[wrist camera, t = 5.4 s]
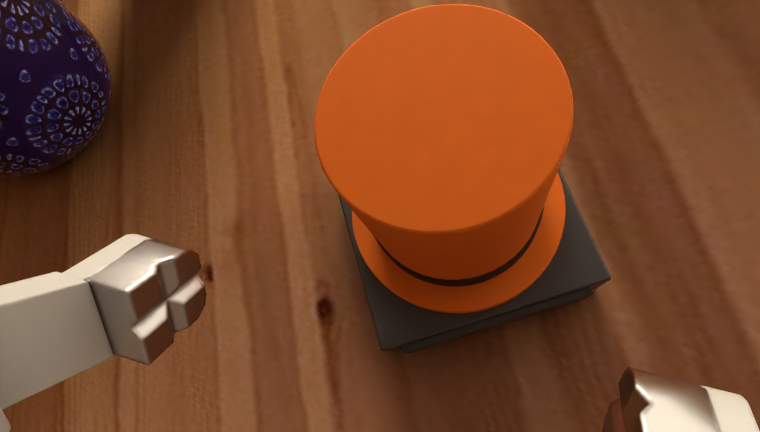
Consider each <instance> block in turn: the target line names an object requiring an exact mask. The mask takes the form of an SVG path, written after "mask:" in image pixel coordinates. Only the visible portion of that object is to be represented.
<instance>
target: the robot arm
mask: <svg viewBox="0 0 760 432" xmlns="http://www.w3.org/2000/svg"><path fill="white" fill-rule="evenodd" d="M200 269H201V264H200V260H199V255H198V254H197V253H196V252H194V251H192V250H190V249H187V248H183V247H180V246H177V245H173V244H170V243H167V242H163V241H160V240H157V239H151V238H148V237H145V236H141V235H138V234H128V235H125V236H123V237H121V238H120V239H118V240H116V241H115V242H113V243H111V244H110V245H108V246H106V247H105V248H103V249H101V250H100V251H98V252H96V253H95V254H93V255H91V256H90V257H88V258H86V259H85V260H83V261H81V262H80V263H78V264H76V265H75V266H73V267H71V268H70V269H68V270H66V271H65V272H63V273H59V272H52V273H48V274H44V275H40V276H36V277H32V278H28V279H24V280H20V281H16V282H12V283H8V284H5V285H1V286H0V432H10V428H11V425H10V423H9V422H8V420H7V418H6V416H5V414H4V413H3V411H2V410H3V409H5V408H7V407H9V406H11V405H14V404H16V403H18V402H20V401H22V400H24V399H26V398H28V397H30V396H32V395H34V394H37V393H39V392H41V391H43V390H45V389H47V388H49V387H51V386H53V385H55V384H57V383H59V382H62V381H64V380H66V379H68V378H70V377H72V376H74V375H76V374H78V373H80V372H82V371H85V370H87V369H89V368H91V367H93V366H95V365H97V364H99V363H101V362H103V361H105V360H107V359H110V358H112V357H113V356H114V355H113V354H115V355H118V356H121V357H124V358H127V359H130V360H133V361H136V362H139V363H142V364H145V365H148V366H149V365H150V364H151V363H152V362H153V361H154V360H155V359H156V358H157V357H158V356H160V355H161V354H162V353H163V352H164V351H165V350H166V349H167V348H168V347H169V346H170V345H171V344H172V343H173V342H174V336H175V333H176V332H179V331H181V330H184V329H186V328H189V327H190V326H191V325H192V324H193V323H194V322H195V321H196V320H197V319H198V318H199V316H200V314H201V312H202V310H203V308H204V306H205V301H206V289H205V285H204V283H203V282H202V280H201V279H200V278H199V276H198V275H197V274H198V272H199V270H200ZM619 394H620V399H618V400H615V401H613V402H611V403H610V405H609V407H608V410H607V413H606V415H605V419H604V424H603V429H602V432H760V430H759V428H758V426H757V423H756V421H755V418H754V416H753V414H752V411H751V409H750V406H749V404H748V402H747V401H746V400H745V399H744V398H743V397H742V396H741V395H738V394H734V393H730V392H726V391H722V390H718V389H714V388H710V387H706V386H699V385H696V384H692V383H688V382H685V381H681V380H677V379H673V378H669V377H665V376H662V375H658V374H654V373H650V372H646V371H642V370H639V369H635V368H631V367H628V368H627V369H626V370H625V371H624V373H623V375H622V377H621V379H620V381H619Z"/></svg>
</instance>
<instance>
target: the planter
mask: <svg viewBox="0 0 760 432" xmlns="http://www.w3.org/2000/svg"><path fill="white" fill-rule="evenodd" d="M111 93H112V86H111V75H110V70H109V67H108V63H107V60H106V57H105V55H104V53H103V51H102V48H101V46H100V44H99V42H98V41H97V39H96V38H95V37H94V35H93V34H92V33H91V31H90V30H89V29H88V27H87V26H86V25H85V24H84V23H83V22H82V21H81V20H80V19H79V18H78V17H77V16H76V15H75V14H74V13H73V12H72V11H71V9H70V8H69V7H68V6H67V5H65V4H64V3H63V2H62V1H61V0H0V177H11V176H23V175H29V174H35V173H39V172H42V171H45V170H48V169H51V168H54V167H56V166H59V165H61V164H63V163H64V162H66V161H68V160H69V159H71V158H72V157H74V156H75V155H76V154H78V153H79V152H80V151H81V150H82V149H83V148H85V147H86V146H87V145H88V144H89V142H90V141H91V140H92V139H93V138H94V136H95V135H96V134H97V132H98V131H99V129H100V127H101V126H102V124H103V122H104V120H105V117H106V115H107V112H108V109H109V105H110V101H111Z"/></svg>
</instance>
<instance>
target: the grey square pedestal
mask: <svg viewBox="0 0 760 432" xmlns="http://www.w3.org/2000/svg"><path fill="white" fill-rule="evenodd" d="M557 172H558V175H559V177H560V180H561V182H562V187H563V191H564V195H565V207H566V212H565V224H564V229H563V233H562V238H561V240H560V243H559V246H558V248H557V251H556V252H555V254H554V256H553V258H552V260H551V262H550V263H549V265H548V266H547V267H546V269H545V270H544V271H543V273H542V274H541V275H540V277H539V278H538V279H537V280H536V281H535V282H534V283H533V284H532V285H531V286H530V287H529V288H527V289H526V290H525V291H523V292H522V293H521V294H519V295H518V296H516V297H515V298H513V299H511V300H509V301H507V302H506V303H503V304H501V305H498V306H496V307H493V308H490V309H486V310H482V311H478V312H471V313H443V312H437V311H432V310H428V309H425V308H422V307H419V306H416V305H414V304H412V303H410V302H407V301H406V300H404V299H402V298H401V297H399V296H398V295H396V294H394V293H393V292H392V291H391V290H390V289H388V288H387V287H386V286H385V285H383V284H382V283H381V282H380V281H379V280H378V278H377V277H376V276H375V275H374V274H373V273H372V271H371V270H370V269H369V267H368V266H367V264H366V263H365V261H364V259H363V257H362V255H361V253H360V251H359V249H358V246H357V243H356V240H355V236H354V231H353V225H352V209H351V208H350V207H349V206H348V205H347V204H346V202H345V201H344V200H343V199H342V198H341V197H340V195H339V194H338V195H339V198H340V202H341V206H342V209H343V213H344V216H345V220H346V224H347V227H348V231H349V235H350V238H351V242H352V246H353V249H354V253H355V256H356V260H357V264H358V267H359V271H360V275H361V278H362V282H363V286H364V289H365V293H366V296H367V300H368V304H369V307H370V311H371V315H372V318H373V322H374V326H375V329H376V333H377V336H378V340H379V344H380V347H381V350H382V351H388V352H397V351H400V350H402V353H412V352H415V351H418V350H422V349H425V348H428V347H431V346H434V345H438V344H441V343H444V342H447V341H450V340H454V339H457V338H460V337H463V336H466V335H470V334H473V333H476V332H479V331H482V330H486V329H489V328H492V327H495V326H498V325H502V324H505V323H508V322H511V321H514V320H518V319H521V318H524V317H527V316H530V315H534V314H537V313H540V312H543V311H546V310H550V309H553V308H556V307H559V306H562V305H566V304H569V303H572V302H575V301H578V300H582V299H584V298H586V297H588V296H589V295H591V294H593V291H592V290H595V289H596V288H598V287H599V286H601V285H602V284H604V283H606V282H607V281H609V280H610V279H611V277H610V274H609V272H608V270H607V268H606V266H605V264H604V262H603V260H602V258H601V255H600V253H599V251H598V249H597V247H596V245H595V243H594V241H593V239H592V236H591V234H590V232H589V230H588V228H587V226H586V224H585V222H584V220H583V218H582V215H581V213H580V211H579V209H578V207H577V205H576V203H575V201H574V199H573V196H572V194H571V192H570V190H569V188H568V186H567V184H566V182H565V180H564V177H563V175H562V173H561V171H560V169H558V171H557Z"/></svg>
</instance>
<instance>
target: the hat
mask: <svg viewBox="0 0 760 432" xmlns="http://www.w3.org/2000/svg"><path fill="white" fill-rule="evenodd" d="M573 115H574V106H573V95H572V90H571V86H570V82H569V79H568V76H567V74H566V72H565V69H564V67H563V65H562V63H561V61H560V60H559V58H558V56H557V55H556V53H555V52H554V50H553V49H552V48H551V47H550V46H549V44H548V43H547V42H546V41H545V40H544V39H543V38H542V37H541V36H540V35H539V34H538V33H537V32H535V31H534V30H533V29H532V28H530V27H529V26H527V25H526V24H524V23H523V22H521V21H520V20H518V19H516V18H514V17H511V16H509V15H507V14H505V13H502V12H499V11H496V10H493V9H490V8H486V7H481V6H476V5H466V4H441V5H433V6H427V7H422V8H418V9H413V10H411V11H408V12H405V13H402V14H399V15H397V16H394V17H392V18H390V19H388V20H386V21H384V22H382V23H380V24H379V25H377V26H375V27H374V28H372V29H371V30H369V31H368V32H367V33H365V34H364V35H362V36H361V37H360V38H359V39H358V40H357V41H355V42H354V43H353V44H352V45H351V46H350V47H349V48H348V49H347V50H346V51H345V53H344V54H343V55H342V56H341V57H340V58H339V60H338V61H337V63H336V64H335V65H334V67H333V68H332V70H331V71H330V73H329V75H328V77H327V79H326V81H325V83H324V85H323V88H322V91H321V93H320V96H319V99H318V104H317V108H316V114H315V124H314V131H315V144H316V149H317V154H318V157H319V160H320V163H321V166H322V169H323V171H324V173H325V174H326V176H327V178H328V180H329V182H330V183H331V185H332V186H333V187H334V189H335V190H336V192H337V193H338V194H339V195H340V197H341V198H342V199H343V200H344V201H345V202H346V204H347V205H348V206H349V207H350V208H351V209H352V225H353V231H354V236H355V240H356V243H357V246H358V249H359V251H360V253H361V255H362V257H363V259H364V261H365V263H366V264H367V266H368V267H369V269H370V270H371V271H372V273H373V274H374V275H375V276H376V277H377V278H378V280H379V281H380V282H381V283H382V284H383V285H385V286H386V287H387V288H388V289H390V290H391V291H392V292H393V293H394V294H396V295H398V296H399V297H401V298H402V299H404V300H406V301H407V302H410V303H412V304H414V305H416V306H419V307H422V308H425V309H428V310H432V311H437V312H443V313H471V312H478V311H482V310H486V309H490V308H493V307H496V306H498V305H501V304H503V303H506V302H507V301H509V300H511V299H513V298H515V297H516V296H518V295H519V294H521V293H522V292H523V291H525V290H526V289H527V288H529V287H530V286H531V285H532V284H533V283H534V282H535V281H536V280H537V279H538V278H539V277H540V275H541V274H542V273H543V271H544V270H545V269H546V267H547V266H548V265H549V263H550V262H551V260H552V258H553V256H554V254H555V252H556V251H557V248H558V246H559V243H560V240H561V238H562V233H563V229H564V224H565V212H566V207H565V195H564V191H563V187H562V182H561V180H560V177H559V175H558V172H557V171H558V169H559V166H560V164H561V161H562V159H563V156H564V154H565V151H566V149H567V146H568V143H569V140H570V136H571V131H572V127H573Z"/></svg>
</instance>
